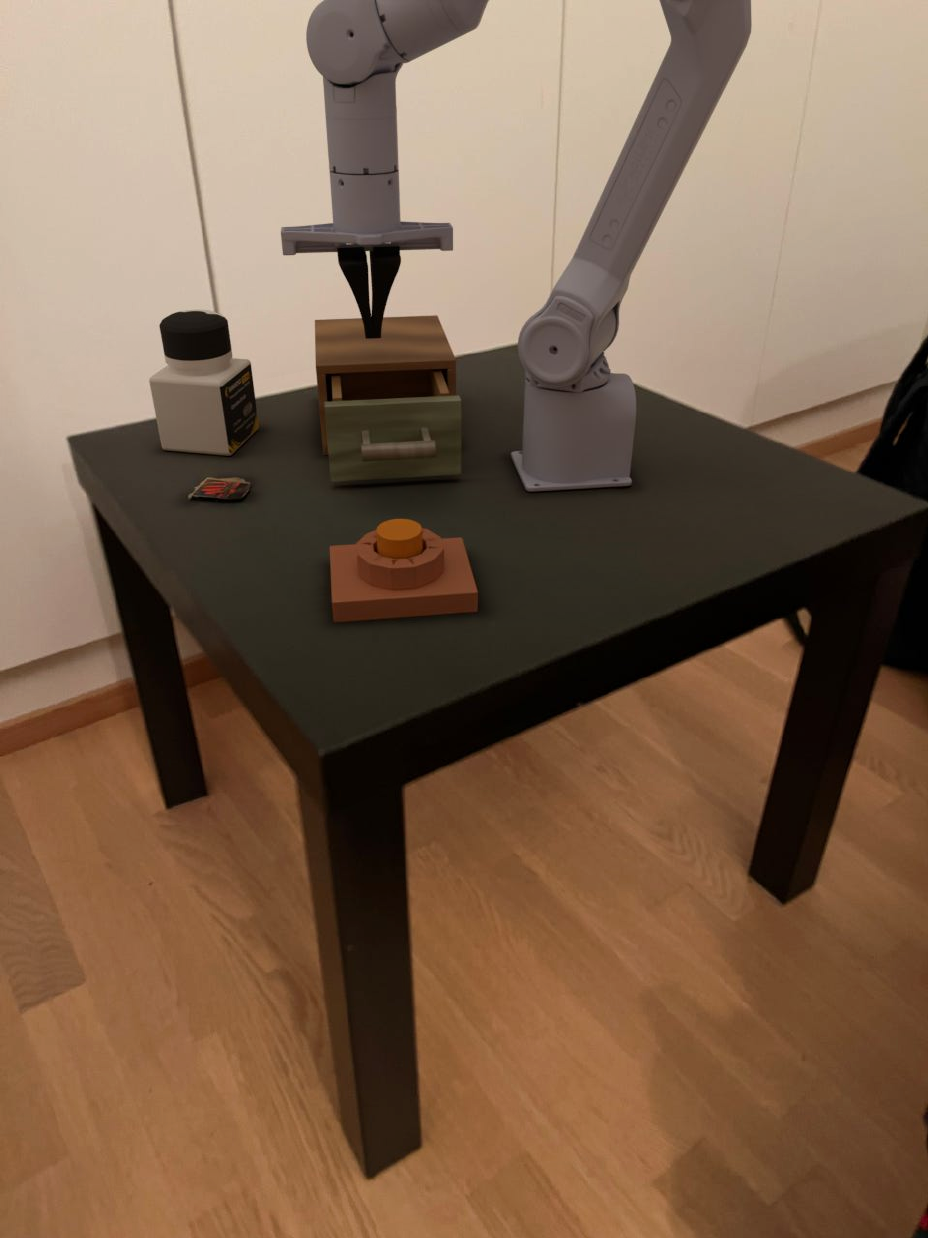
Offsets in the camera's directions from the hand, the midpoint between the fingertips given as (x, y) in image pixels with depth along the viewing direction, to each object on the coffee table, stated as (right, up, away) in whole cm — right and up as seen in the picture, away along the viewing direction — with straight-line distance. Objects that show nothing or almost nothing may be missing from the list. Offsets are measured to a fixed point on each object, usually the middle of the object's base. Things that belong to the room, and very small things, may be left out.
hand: (372, 335), depth 84 cm
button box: (+4, -23, -17) cm, 29 cm away
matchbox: (-13, -15, -3) cm, 20 cm away
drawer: (+2, -11, +1) cm, 11 cm away
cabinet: (0, -6, +10) cm, 12 cm away
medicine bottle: (-16, -8, +6) cm, 19 cm away
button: (+4, -21, -18) cm, 28 cm away
